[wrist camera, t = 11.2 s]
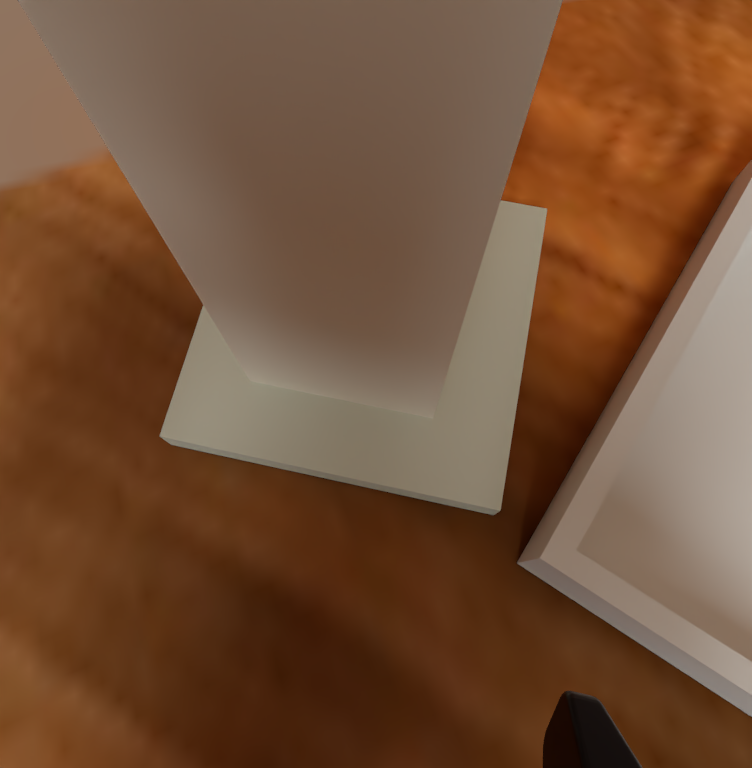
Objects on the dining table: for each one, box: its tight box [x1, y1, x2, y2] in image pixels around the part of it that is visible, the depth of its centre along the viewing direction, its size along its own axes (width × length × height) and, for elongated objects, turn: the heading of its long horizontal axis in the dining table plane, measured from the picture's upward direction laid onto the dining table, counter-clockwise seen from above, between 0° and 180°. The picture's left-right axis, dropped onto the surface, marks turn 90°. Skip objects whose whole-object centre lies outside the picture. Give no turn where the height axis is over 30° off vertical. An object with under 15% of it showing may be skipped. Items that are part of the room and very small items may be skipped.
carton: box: [18, 0, 563, 418], centre depth 11 cm, size 5×5×13 cm
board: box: [160, 200, 547, 515], centre depth 18 cm, size 9×9×1 cm
